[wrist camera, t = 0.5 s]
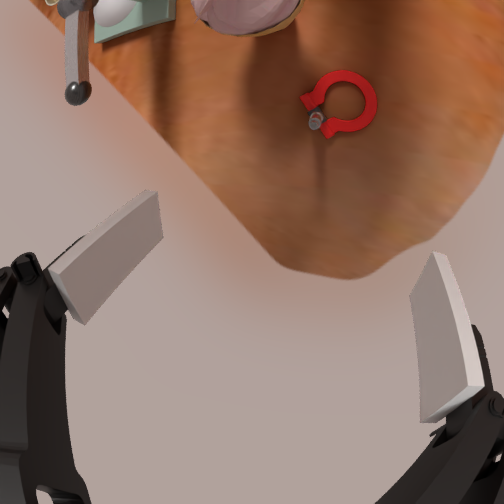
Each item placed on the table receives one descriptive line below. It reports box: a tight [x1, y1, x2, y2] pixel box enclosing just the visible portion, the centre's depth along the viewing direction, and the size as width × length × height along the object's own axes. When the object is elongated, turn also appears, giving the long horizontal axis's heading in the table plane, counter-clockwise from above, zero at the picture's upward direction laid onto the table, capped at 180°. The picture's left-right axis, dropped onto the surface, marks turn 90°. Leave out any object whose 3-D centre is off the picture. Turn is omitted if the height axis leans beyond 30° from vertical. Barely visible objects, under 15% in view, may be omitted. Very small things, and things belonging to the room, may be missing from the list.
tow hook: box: [299, 70, 377, 139], centre depth 25 cm, size 8×13×9 cm
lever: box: [57, 0, 99, 106], centre depth 17 cm, size 16×3×4 cm, turn 0°
